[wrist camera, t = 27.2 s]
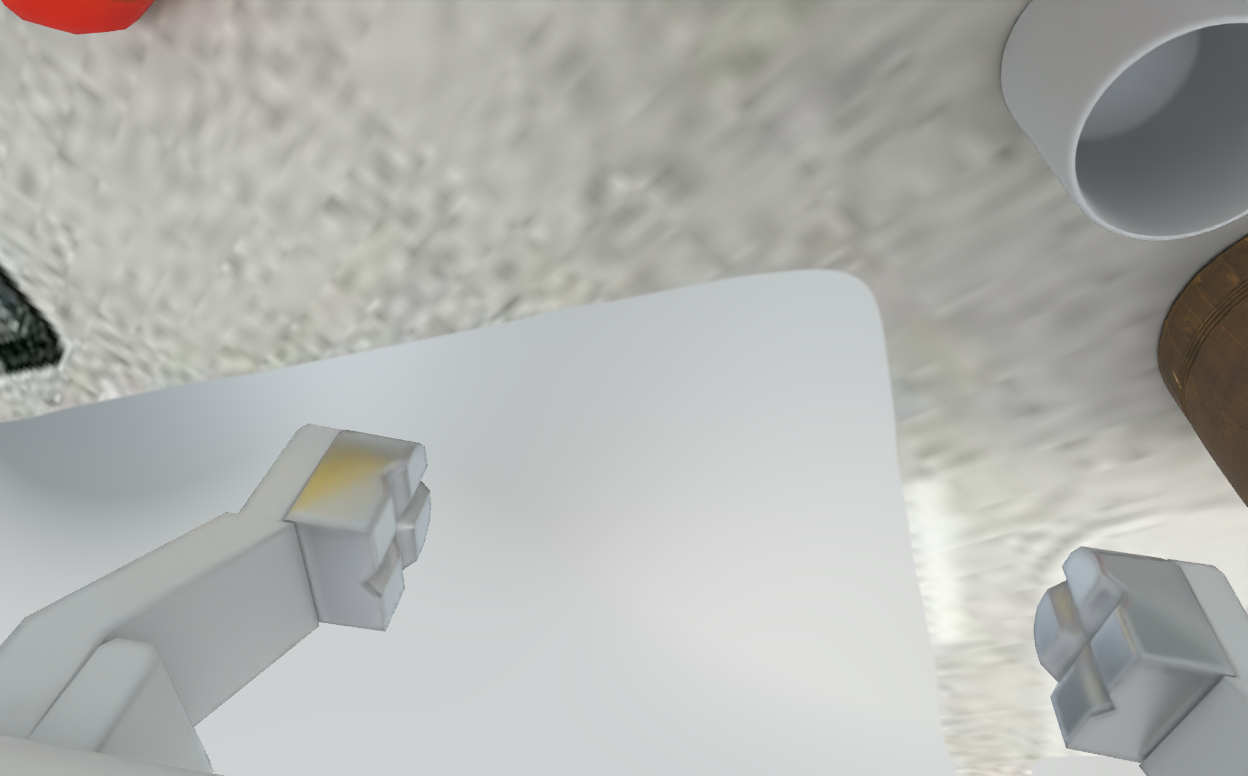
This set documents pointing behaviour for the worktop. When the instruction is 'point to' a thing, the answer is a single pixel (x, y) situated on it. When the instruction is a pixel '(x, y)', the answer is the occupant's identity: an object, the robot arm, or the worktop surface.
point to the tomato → (80, 13)
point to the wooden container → (1213, 360)
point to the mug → (1137, 108)
